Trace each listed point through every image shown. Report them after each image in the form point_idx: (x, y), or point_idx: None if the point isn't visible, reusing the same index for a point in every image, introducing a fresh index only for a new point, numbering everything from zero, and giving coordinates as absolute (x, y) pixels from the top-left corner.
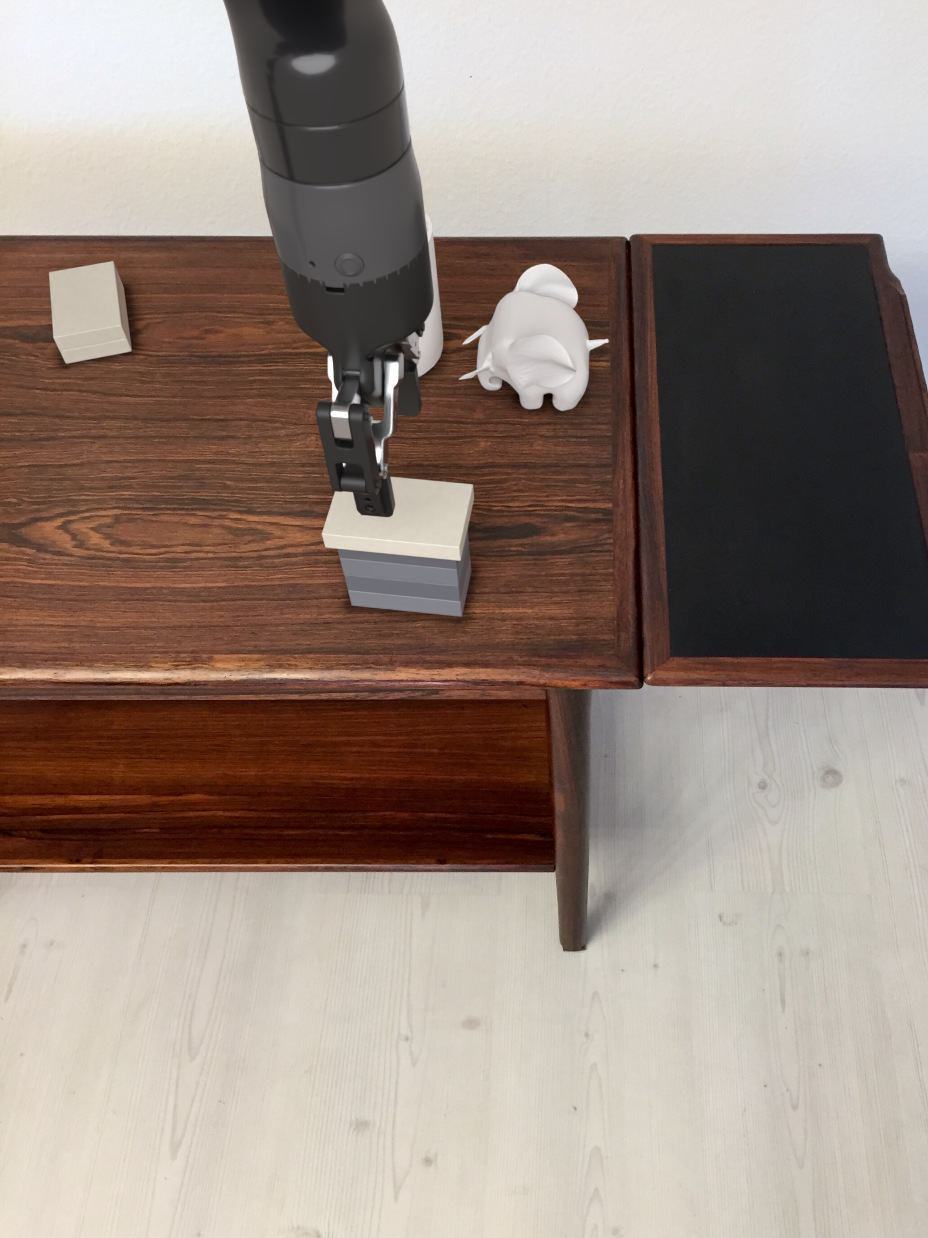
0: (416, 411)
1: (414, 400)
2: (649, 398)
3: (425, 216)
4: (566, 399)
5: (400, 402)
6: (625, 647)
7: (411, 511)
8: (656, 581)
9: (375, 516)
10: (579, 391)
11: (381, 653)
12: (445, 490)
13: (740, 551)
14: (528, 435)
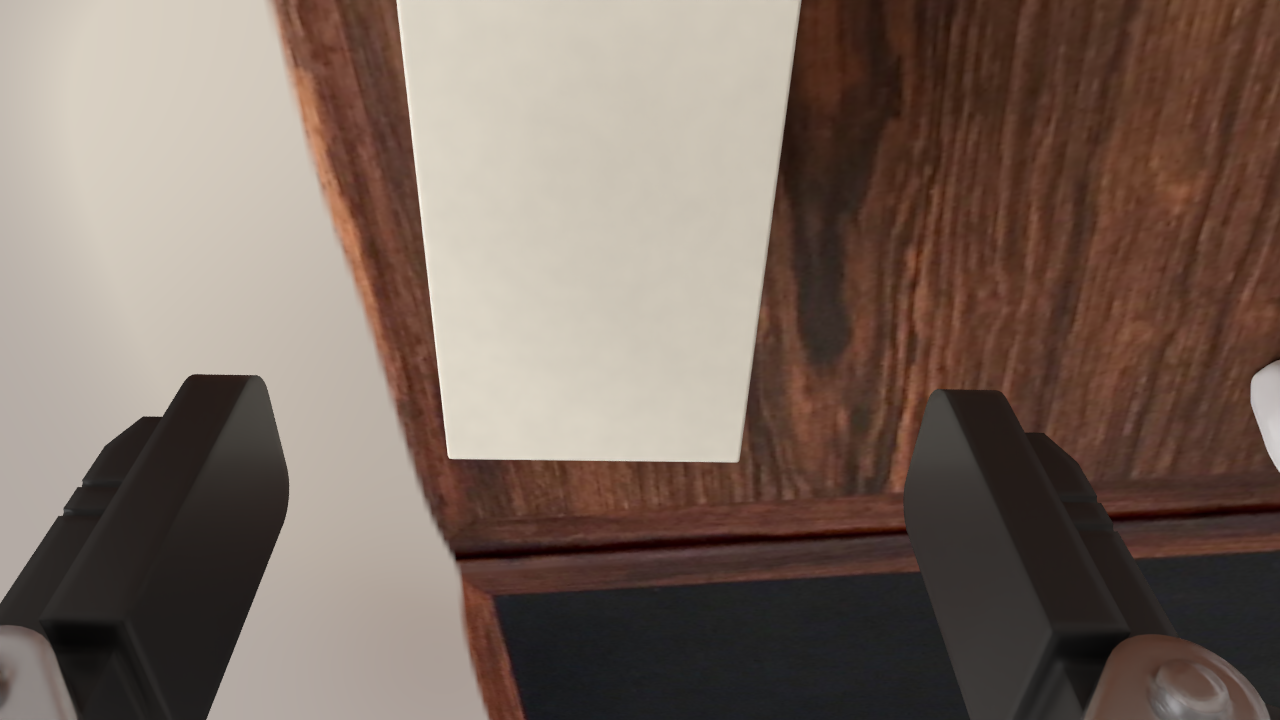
0: (909, 519)
1: (932, 570)
2: (1234, 539)
3: None
4: (1265, 422)
5: (939, 502)
6: (498, 533)
7: (585, 302)
8: (677, 570)
9: (540, 174)
10: (1275, 463)
11: (344, 15)
12: (704, 391)
13: (760, 675)
14: (1181, 306)
